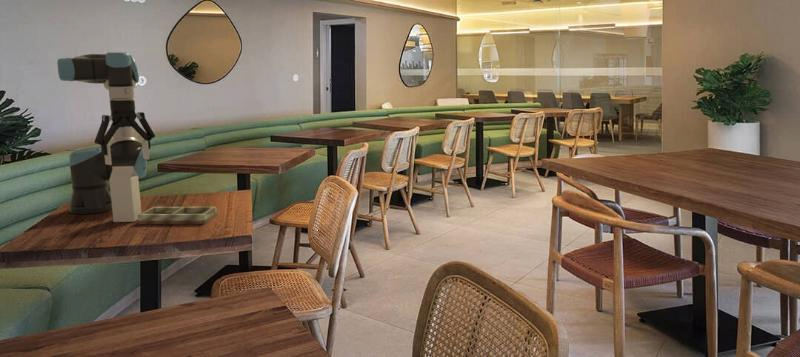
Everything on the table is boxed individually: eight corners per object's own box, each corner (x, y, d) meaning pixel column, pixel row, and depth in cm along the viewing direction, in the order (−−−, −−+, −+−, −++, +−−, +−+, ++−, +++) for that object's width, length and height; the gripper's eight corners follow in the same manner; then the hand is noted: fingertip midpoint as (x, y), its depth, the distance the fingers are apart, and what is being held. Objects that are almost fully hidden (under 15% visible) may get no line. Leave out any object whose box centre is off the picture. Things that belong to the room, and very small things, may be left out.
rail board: (138, 224, 203) (137, 214, 203) (153, 215, 215) (152, 206, 214) (205, 223, 203) (204, 214, 202) (216, 215, 214) (216, 206, 214)
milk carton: (134, 222, 206) (129, 167, 203) (113, 222, 206) (108, 168, 202) (142, 217, 213) (137, 164, 210) (121, 217, 213) (116, 165, 209)
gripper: (90, 102, 188) (97, 168, 192) (162, 97, 208) (167, 157, 212) (78, 101, 192) (85, 165, 197) (150, 96, 212) (155, 155, 216)
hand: (127, 161), depth 204 cm, fingers open, 13 cm apart
